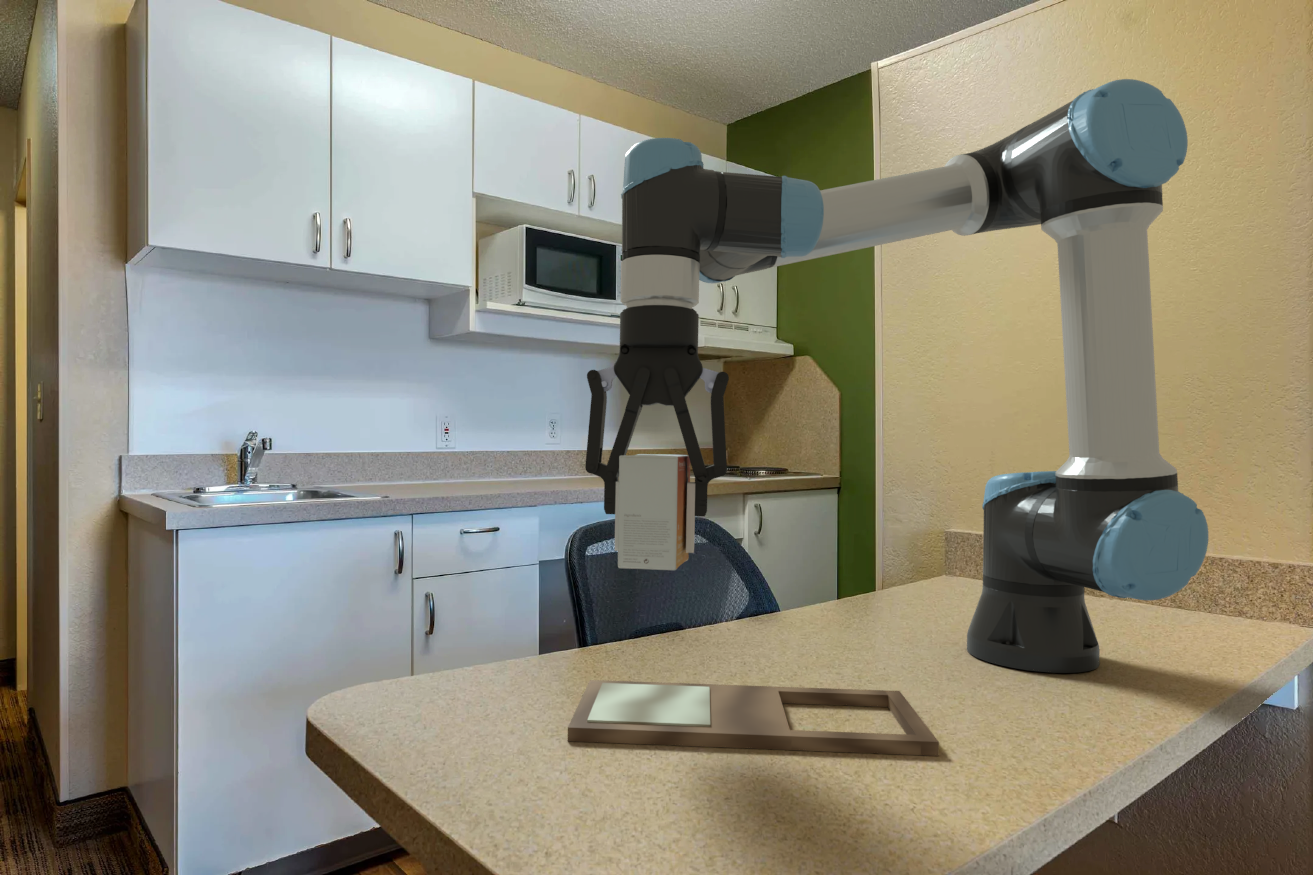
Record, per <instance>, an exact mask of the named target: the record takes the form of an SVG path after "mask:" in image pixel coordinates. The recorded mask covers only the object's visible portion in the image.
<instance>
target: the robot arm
mask: <svg viewBox="0 0 1313 875" xmlns="http://www.w3.org/2000/svg"><path fill="white" fill-rule="evenodd" d="M1187 153H1188V132H1187V127H1186V125H1185V122H1184V119H1183V117H1182V115H1181V113H1180V110H1179V109H1178V107H1177V106H1176V104H1175V103H1174V101H1173V100H1172V99H1170V98H1167V97H1166V96H1165V95H1164V93H1163V91H1162V90H1160V89H1159V88H1158V87H1157V86H1154V85H1152V84H1150V83H1149V82H1145V81H1142V80H1138V79H1133V78H1131V79H1130V78H1122V79H1121V78H1120V79H1115V80H1112V81H1109V82H1107V83H1104V84H1102V85H1100V86H1098V87H1096V88H1091V89H1089V90H1086V91H1084V92H1082V93H1080V94H1079V95H1077V96H1076V97H1075V98H1074V99H1073V100H1071V101H1069V102H1068V103H1066V104H1064V105H1062V106H1060V107H1059V108H1057V109H1055V110H1053V111H1051V112H1049V113H1048V114H1046V115H1044V116H1043V117H1041V118H1039V119H1037V120H1035V121H1033V122H1032V123H1029V124H1027V125H1025V126H1024V127H1021V128H1020V129H1018V130H1017V131H1015V132H1013V133H1011V134H1010V135H1008V136H1006V137H1004V138H1002V139H1000V140H998V141H996V142H994V143H992V144H990V145H988V146H985V147H984V148H980V149H977V150H975V151H972V152H968V153H962V154H957V155H954V156H953V157H952V158H950V159H949V160H948V161H947V162H946V163H945V165H944V166H942V167H941V166H940V167H935V168H931V169H930V168H929V169H925V170H924V169H923V170H920V171H915V172H909V173H903V174H899V175H893V176H889V177H883V178H879V179H877V178H876V179H874V180H873V179H872V180H867V181H861V182H857V183H853V184H847V185H843V186H837V187H836V186H835V187H832V188H825V189H823V190H822V189H821V190H820V188H819V187H818V185H817V184H815V183H814V182H812V181H810V180H806V179H800V178H799V179H798V178H793V177H790V176H789V177H788V176H787V175H782V176H775V175H765V174H751V173H742V172H741V173H740V172H739V173H737V172H727V171H718V170H716V171H715V170H713V169H707V168H704V166H705V165H704V164H705V163H704V162H703V161H702V159H703V158H702V156H703V155H702V152H701V150H700V148H699V146H697V145H696V144H694V143H693V142H691V141H690V142H689V141H684V140H682V139H680V138H675V137H674V138H673V137H655V138H647V139H644V140H642V141H638V142H637V143H635V144H633V146H631V147H630V149H629V150H627V152H626V153H625V156H624V157H625V158H624V170H623V182H622V183H623V184H622V192H621V194H620V198H621V200H622V201H621V262H620V302H621V304H622V305H623V306H625V307H626V308H624V309H622V311H621V312H620V313H619V314H620V315H619V317H620V318H619V353H618V356H617V358H616V360H615V361H614V364H613V366H610V367H606V368H603V369H599V370H596V369H591V370H589V371H588V372H587V374H586V378H587V383H588V386H589V390H590V394H591V398H590V407H589V408H590V409H589V420H588V422H589V423H588V430H587V432H588V433H587V444H586V454H585V468H584V469H585V470H586V472H587V473H588V474H592V475H594V476H597V477H599V478H601V479H602V481H603V486H604V488H603V490H604V491H603V493H604V494H603V510H604V512H605V514H606V515H614V552H618V505H619V456H624V455H627V453H628V450H629V448H630V447H629V446H630V444H631V440H632V438H633V436H634V435H633V434H634V432H635V429H636V426H637V423H638V419H639V417H640V415H641V412H642V409H643V406H654V405H658V404H659V405H662V406H665V407H673V408H674V412H675V415H676V418H677V422H678V426H679V429H680V431H681V436H682V440H683V442H684V446H685V449H686V452H687V455H688V456H689V459H690V467H691V469H692V472H693V475H694V481H690V482H688V483H687V522H686V553H689V554H694V553H695V532H696V531H695V526H696V525H695V524H696V523H695V522H696V517H706V515H707V512H708V486H709V483H710V482H711V481H712V480H714V479H717V478H720V477H723V476H725V475H726V474H727V472H728V470H727V469H728V468H727V467H728V465H727V448H726V447H727V445H726V444H727V443H726V442H727V441H726V424H725V423H726V422H725V405H724V404H725V403H724V396H725V393H726V390H727V387H728V382H729V380H730V376H729V374H728V373H727V372H726V371H720V372H719V371H715V370H712V369H709V368H705V367H703V363H702V362H701V360H700V358H699V320H700V319H699V316H700V315H699V313H697V312H698V311H696V310H695V307H696V306H697V305H698V304H699V301H700V299H699V298H700V282H702V283H705V284H719V283H722V282H729V281H731V280H732V279H733V278H734V277H737V276H741V275H744V274H749V273H755V272H759V271H762V270H763V271H764V270H767V269H772V268H775V267H779V266H780V267H781V266H785V265H789V264H794V263H799V262H803V261H809V260H814V259H819V258H823V257H829V256H832V255H837V254H843V253H848V252H853V251H856V250H863V249H866V248H871V247H872V248H873V247H876V246H882V245H886V244H891V243H896V242H900V241H904V240H910V239H916V238H919V237H925V236H930V235H935V234H940V233H945V232H949V231H952V232H953V233H954V234H957V235H958V236H964V237H965V236H971V235H975V234H980V233H982V234H983V233H988V232H992V231H1000V230H1001V231H1002V230H1009V229H1017V228H1018V229H1019V228H1024V227H1031V226H1032V227H1033V226H1038V225H1040V228H1041V231H1042V232H1044V233H1045V234H1046V235H1048V236H1049V237H1050V238H1052V239H1053V240H1054V241H1055V242H1056V244H1057V258H1058V260H1057V261H1058V263H1057V264H1058V276H1059V278H1058V279H1059V294H1060V313H1061V333H1062V347H1063V365H1064V382H1065V383H1064V384H1065V399H1066V400H1065V401H1066V415H1067V416H1066V418H1067V419H1066V420H1067V438H1068V452H1069V455H1068V458H1067V460H1066V461H1065V462H1064V463H1063V464H1062V465H1061V466H1060V467H1059V468H1058V469H1057V470H1049V471H1048V470H1047V471H1045V470H1044V471H1028V472H1026V471H1025V472H1013V473H1011V472H1009V473H1003V474H997V475H995V476H992V477H991V478H989V479H988V480H987V482H986V484H985V488H984V495H983V496H984V497H983V503H982V510H983V530H982V531H983V532H982V533H983V534H982V536H983V538H982V539H983V541H982V543H983V545H982V551H983V552H982V590H981V594H980V598H979V600H978V602H977V606H976V608H975V611H974V612H973V613H974V614H973V616H972V619H971V622H970V623H969V627H968V629H967V632H966V633H967V634H966V651H967V652H968V654H970V655H971V656H973V657H975V658H977V659H980V660H983V661H985V662H988V663H990V664H991V663H992V664H994V665H999V666H1002V667H1007V668H1012V669H1018V670H1022V671H1023V670H1024V671H1030V672H1039V673H1040V672H1041V673H1055V674H1057V673H1058V674H1075V673H1085V672H1089V671H1094V670H1095V669H1097V668H1099V667H1100V650H1101V649H1100V643H1099V641H1098V638H1097V636H1096V632H1095V629H1094V626H1093V622H1092V620H1091V617H1090V614H1089V610H1088V608H1087V605H1086V600H1085V588H1087V589H1091V590H1095V591H1097V592H1098V591H1099V592H1102V593H1105V594H1107V595H1108V596H1112V597H1116V598H1119V599H1127V598H1128V599H1135V600H1140V601H1159V600H1162V599H1165V598H1168V597H1170V596H1171V597H1172V596H1173V595H1175V594H1176V593H1178V592H1179V591H1181V590H1182V589H1183V588H1185V587H1186V586H1187V585H1188V584H1189V581H1190V580H1191V578H1192V577H1195V576H1196V575H1197V574H1198V572H1199V570H1200V569H1201V567H1202V564H1203V563H1204V561H1205V558H1206V555H1207V551H1208V545H1209V526H1208V522H1207V519H1206V516H1205V514H1204V512H1203V510H1202V509H1201V508H1198V507H1197V506H1198V504H1197V502H1195V500H1193V499H1192V498H1191V497H1189V496H1187V495H1185V494H1184V493H1182V492H1180V491H1179V481H1178V470H1177V468H1176V467H1175V466H1174V465H1172V464H1171V463H1170V462H1169V461H1167V460H1166V459H1165V458H1164V457H1163V456H1162V455H1161V453H1160V442H1159V439H1160V438H1159V423H1158V422H1159V420H1158V403H1157V401H1158V400H1157V386H1156V385H1157V384H1156V365H1155V364H1156V363H1155V350H1154V348H1155V347H1154V330H1153V311H1152V309H1153V308H1152V294H1151V292H1152V291H1151V278H1150V277H1151V276H1150V258H1149V257H1150V255H1149V239H1148V236H1149V235H1148V229H1149V227H1150V226H1151V225H1152V224H1153V222H1154V221H1155V220H1157V218H1158V217H1159V216H1160V215H1161V214H1162V212H1164V206H1163V205H1164V202H1163V200H1164V199H1163V185H1164V184H1166V183H1168V182H1169V181H1170V180H1171V178H1173V177H1174V176H1175V175H1176V174H1177V173H1178V171H1179V170H1180V166H1182V165H1183V164H1184V162H1185V159H1186V156H1187ZM615 378H617V379H618V380H619V382H620V383H621V384H622V386H623V388H624V389H625V390H626V392H627V393H628V395H629V396H628V400H627V402H626V406H625V409H624V413H623V416H622V419H621V422H620V425H619V428H618V430H617V434H616V437H615V440H614V443H613V446H612V448H611V452H610V454H609V458H608V460H607V463H604V462H602V459H603V447H604V436H605V425H606V416H607V415H606V414H607V413H606V412H607V403H608V396H607V392H608V391H610V390H611V389H612V387H613V381H614V379H615ZM700 379H701V380H703V382H704V389H705V391H706V392H707V393H709V394H710V417H711V418H710V419H711V438H712V439H711V440H712V441H711V442H712V458H713V460H712V461H713V464H712V465H709V466H706V464H705V461H704V458H703V455H702V450H701V449H700V444H699V442H698V438H697V434H696V431H695V428H694V424H693V421H692V417H691V414H690V410H689V408H688V404H687V400H686V397H687V395H688V394H690V392H691V391H692V389H693V387H695V385H696V384H697V382H698V381H699V380H700Z"/></svg>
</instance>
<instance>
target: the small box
mask: <svg viewBox="0 0 1313 875" xmlns="http://www.w3.org/2000/svg"><path fill="white" fill-rule="evenodd" d="M688 482H691V463H690V459H689V456H688V454H669V453H667V454H664V453H663V454H661V453H658V454H656V453H654V454H653V453H650V454H649V453H648V454H647V453H638V454H633V455H631V454H630V455H627V454H626V455H624V456H619V505H618V551H617V567H618V568H617V569H627V570H629V569H630V570H631V569H632V570H633V569H635V570H654V571H655V570H658V571H677V569H678V568H679V567H680V566H682V564H684V563H685V562H687V561H689V556H690V555H689V554H690V553H686V522H687V483H688Z"/></svg>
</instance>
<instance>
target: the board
mask: <svg viewBox="0 0 1313 875" xmlns="http://www.w3.org/2000/svg"><path fill="white" fill-rule="evenodd" d="M783 704H794V705H795V704H797V705H801V704H802V705H821V706H823V705H827V706H851V707H853V706H855V707H856V706H857V707H877V708H878V707H880V708H883V707H884V708H885V707H886V708H888V709H889V711H890V712H891V714H892V715H893V717H894V718H895V720H896V721H897V722H898V724H899V725H900V727H901V729H902V730H903V731H904V733H905V734H903V733H901V734H900V733H876V732H856V731H855V732H852V731H851V732H850V731H826V730H825V731H824V730H823V731H822V730H799V729H790V726H789V723H788V719H787V715H786V713H785V712H786V711H785V709H784V706H783ZM567 742H578V743H579V742H580V743H583V742H584V743H603V744H604V743H607V744H608V743H609V744H610V743H611V744H629V745H630V744H632V745H636V744H637V745H652V746H653V745H656V746H657V745H658V746H679V747H680V746H682V747H704V748H705V747H706V748H731V749H732V748H733V749H752V750H753V749H758V750H759V749H760V750H779V751H781V750H782V751H804V752H805V751H807V752H831V753H832V752H833V753H853V754H855V753H856V754H857V753H858V754H859V753H860V754H878V755H880V754H881V755H884V754H885V755H903V756H905V755H908V756H909V755H910V756H929V757H931V756H932V757H934V756H935V757H939V756H940V755H939V753H940V752H939V751H940V747H939V746H940V745H939V744H940V742H939V740H938V739H937V738H936V736H935V735H934V734H933V733H932V731H931V730H930V729H929V727H928V726H927V725H926V723H925V722H924V720H922V718H921V716H919V713H917V712H916V710H915V709H914V707H913V706H912V705H911V704H910V702H909V701H908V700H907V698H906V697H905V696H904V695H903V693H902V692H901V690H882V689H881V690H878V689H854V688H853V689H852V688H826V687H825V688H824V687H823V688H822V687H797V686H796V687H795V686H794V687H793V686H773V685H772V686H770V685H769V686H767V685H764V686H763V685H744V684H743V685H741V684H740V685H739V684H719V683H717V684H713V683H688V682H687V683H684V682H683V683H682V682H660V681H658V682H657V681H633V680H632V681H631V680H630V681H629V680H625V681H624V680H606V679H605V680H603V679H602V680H601V679H600V680H599V679H589V681H588V683H587V686H586V687H585V689H584V691H583V694H582V696H581V699H580V700H579V702H578V705H577V706H576V709H575V711H574V713H573V715H572V717H571V720H570V722H569V724H568V725H567Z"/></svg>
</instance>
